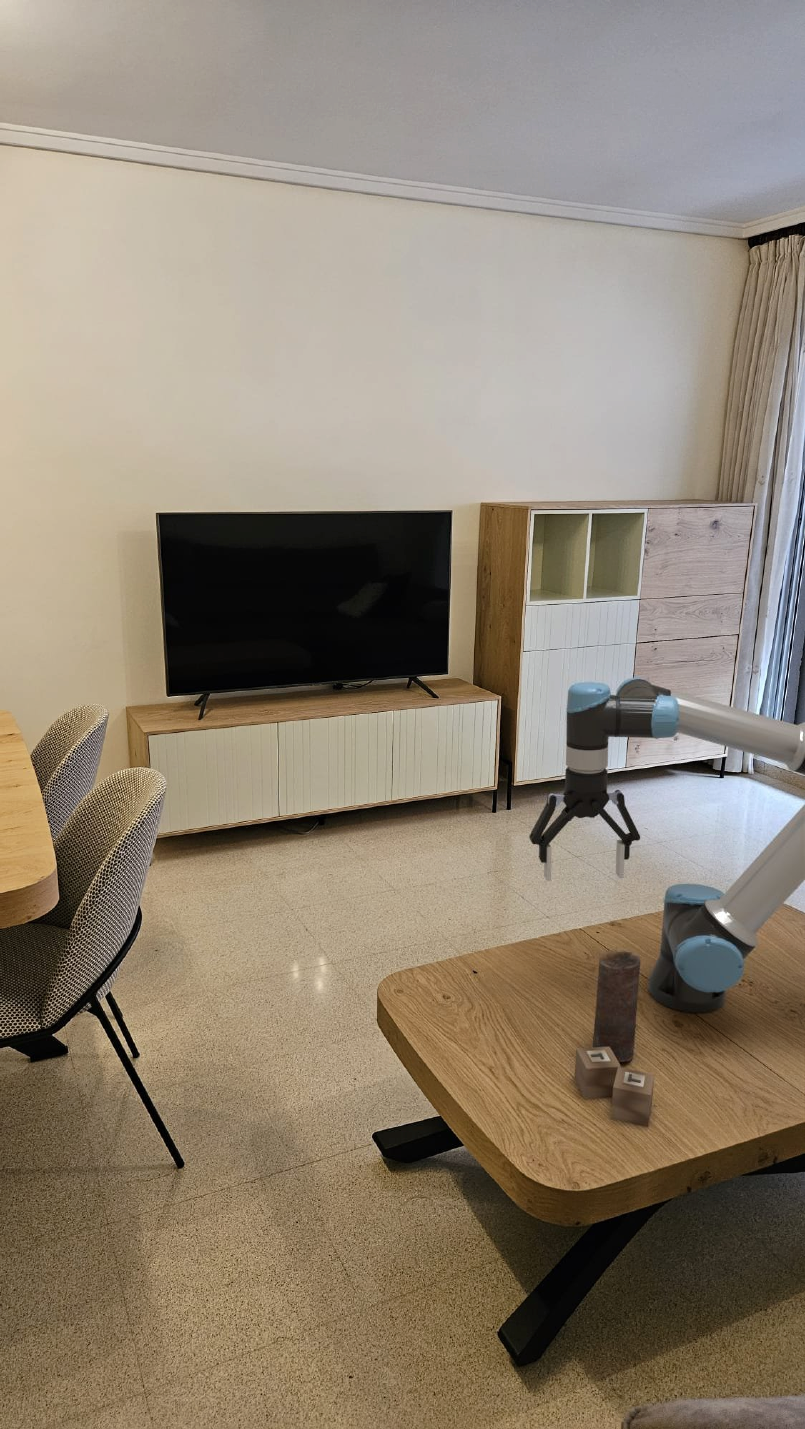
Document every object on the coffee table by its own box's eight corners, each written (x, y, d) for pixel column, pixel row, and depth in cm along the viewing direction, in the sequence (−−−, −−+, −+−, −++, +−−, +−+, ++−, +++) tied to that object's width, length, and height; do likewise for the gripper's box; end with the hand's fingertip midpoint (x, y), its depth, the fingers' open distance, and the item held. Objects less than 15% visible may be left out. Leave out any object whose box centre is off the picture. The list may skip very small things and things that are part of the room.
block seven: (651, 1105, 165) (654, 1071, 164) (648, 1127, 160) (651, 1092, 158) (615, 1098, 167) (618, 1064, 166) (610, 1119, 162) (613, 1084, 160)
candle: (624, 1072, 174) (632, 970, 169) (585, 1059, 178) (592, 959, 173) (638, 1052, 181) (647, 952, 176) (600, 1040, 184) (607, 942, 180)
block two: (607, 1076, 173) (609, 1043, 172) (618, 1097, 167) (621, 1063, 166) (574, 1078, 172) (576, 1045, 171) (584, 1099, 167) (586, 1065, 165)
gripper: (648, 759, 183) (643, 866, 188) (515, 764, 182) (514, 871, 187) (660, 771, 176) (655, 882, 181) (521, 775, 175) (520, 887, 180)
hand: (583, 876), depth 184 cm, fingers open, 13 cm apart
